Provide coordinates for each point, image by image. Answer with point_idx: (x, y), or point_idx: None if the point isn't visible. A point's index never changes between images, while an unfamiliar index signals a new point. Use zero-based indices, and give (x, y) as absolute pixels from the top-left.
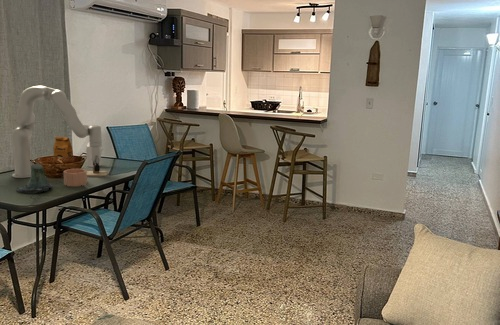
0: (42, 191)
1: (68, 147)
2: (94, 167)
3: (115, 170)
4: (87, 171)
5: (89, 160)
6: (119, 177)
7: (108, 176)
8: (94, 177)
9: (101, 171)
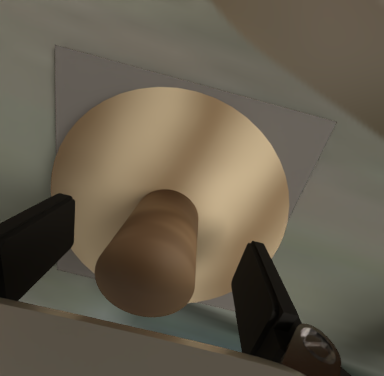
0: None
1: None
2: (14, 216)
3: None
4: (277, 162)
5: None
6: (39, 305)
7: (63, 261)
8: (56, 154)
9: (200, 272)
